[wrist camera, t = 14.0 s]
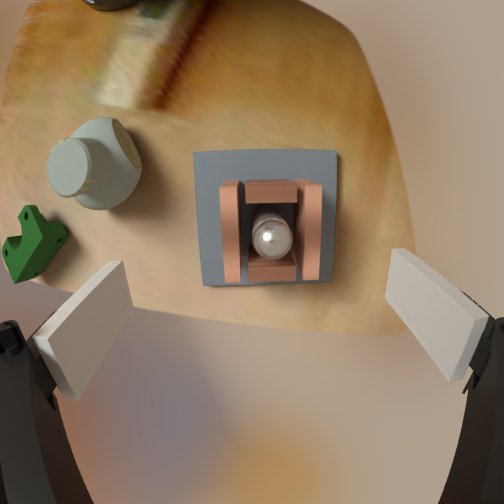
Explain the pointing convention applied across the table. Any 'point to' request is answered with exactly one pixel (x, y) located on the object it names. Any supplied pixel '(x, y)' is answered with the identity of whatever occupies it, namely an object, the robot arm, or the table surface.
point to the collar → (305, 229)
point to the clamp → (32, 245)
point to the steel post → (270, 233)
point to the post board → (260, 168)
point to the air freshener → (95, 165)
